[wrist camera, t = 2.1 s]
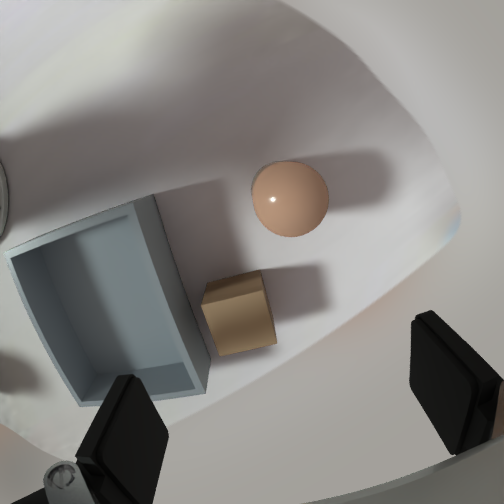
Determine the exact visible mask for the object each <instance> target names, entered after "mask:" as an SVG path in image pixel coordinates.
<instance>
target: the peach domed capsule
mask: <svg viewBox="0 0 504 504" xmlns="http://www.w3.org/2000/svg"><path fill="white" fill-rule="evenodd" d="M251 193H252V199H253V203H254V208H255V212H256V214H257V216H258V218H259V220H260V221H261V223H262V224H263V225H264V226H265V227H266V228H267V229H268V230H270V231H271V232H273V233H275V234H277V235H280V236H285V237H297V236H301V235H304V234H307V233H309V232H310V231H312V230H313V229H315V228H316V227H317V226H318V225H319V224H320V223H321V221H322V220H323V218H324V216H325V214H326V212H327V208H328V203H329V195H328V190H327V186H326V184H325V182H324V180H323V179H322V177H321V176H320V175H319V173H318V172H316V171H315V170H314V169H313V168H311V167H309V166H308V165H305V164H303V163H299V162H284V161H278V162H272V163H269V164H267V165H265V166H264V167H262V168H261V169H260V170H259V171H258V172H257V174H256V175H255V177H254V179H253V182H252V187H251Z"/></svg>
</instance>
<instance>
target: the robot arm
mask: <svg viewBox="0 0 504 504" xmlns="http://www.w3.org/2000/svg"><path fill="white" fill-rule="evenodd" d="M7 213H8V188H7V182H6V177H5V174H4V170H3V167H2V165H1V163H0V236H1V234H2V232H3V230H4V227H5V223H6V219H7ZM409 381H410V382H409V383H410V387H411V390H412V391H413V393H414V395H415V396H416V398H417V400H418V401H419V403H420V404H421V406H422V408H423V409H424V411H425V413H426V414H427V416H428V417H429V419H430V421H431V423H432V424H433V425H434V428H435V429H436V431H437V433H438V434H439V436H440V438H441V439H442V441H443V442H444V445H445V446H446V448H447V450H448V451H449V453H450V454H451V455H454V454H455V455H456V456H454V457H452V458H450V459H447V460H445V461H443V462H440V463H438V464H436V465H433V466H431V467H428V468H425V469H423V470H420V471H418V472H415V473H412V474H410V475H407V476H404V477H401V478H399V479H396V480H393V481H390V482H387V483H384V484H380V485H377V486H374V487H370V488H367V489H364V490H360V491H357V492H353V493H349V494H345V495H341V496H336V497H332V498H328V499H323V500H318V501H314V502H309V503H303V504H504V380H503V379H502V378H501V377H500V376H499V374H498V373H497V372H496V371H495V370H494V369H493V368H492V367H491V366H490V365H489V364H488V363H487V362H486V361H485V360H484V359H483V358H482V357H481V356H480V355H479V354H478V353H477V352H476V351H475V350H474V349H473V348H472V347H471V346H470V345H469V344H468V343H467V342H466V341H464V340H463V339H462V338H461V337H460V336H459V335H458V334H457V333H456V332H455V331H454V330H453V329H452V328H451V327H450V326H449V325H447V323H445V322H444V321H443V320H442V319H441V318H440V317H439V316H438V315H437V314H436V313H435V312H434V311H432V310H430V311H427V312H424V313H421V314H418V315H416V317H415V320H413V321H412V322H411V357H410V378H409ZM168 438H169V434H168V430H167V428H166V426H165V424H164V423H163V421H162V419H161V417H160V415H159V413H158V412H157V410H156V408H155V406H154V404H153V402H152V400H151V398H150V396H149V395H148V393H147V391H146V389H145V387H144V385H143V383H142V381H141V379H140V378H138V377H136V376H135V375H134V374H126V375H118V376H117V377H116V379H115V381H114V382H113V384H112V386H111V388H110V390H109V392H108V393H107V395H106V397H105V399H104V401H103V403H102V405H101V406H100V408H99V410H98V412H97V414H96V416H95V418H94V420H93V422H92V424H91V426H90V427H89V429H88V431H87V433H86V435H85V437H84V439H83V441H82V443H81V445H80V447H79V449H78V451H77V453H76V455H75V457H76V458H77V461H76V464H75V463H74V462H71V461H61V462H58V463H56V464H54V465H53V466H51V467H50V468H49V469H48V470H47V471H46V473H45V475H44V479H43V483H44V488H42V489H40V490H38V491H36V492H34V493H32V494H30V495H28V496H26V497H24V498H22V499H20V500H18V501H15V502H13V503H12V504H152V503H153V499H154V495H155V491H156V487H157V483H158V478H159V475H160V470H161V466H162V462H163V458H164V454H165V450H166V447H167V442H168Z"/></svg>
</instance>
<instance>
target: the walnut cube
mask: <svg viewBox="0 0 504 504" xmlns="http://www.w3.org/2000/svg"><path fill="white" fill-rule="evenodd" d="M201 307H202V310H203V313H204V315H205V318H206V321H207V324H208V326H209V329H210V332H211V335H212V337H213V340H214V343H215V345H216V348H217V351H218V353H219V356H224V355H229V354H233V353H238V352H243V351H247V350H252V349H256V348H260V347H264V346H269V345H273V344H277V339H276V333H275V327H274V321H273V316H272V312H271V308H270V305H269V301H268V297H267V294H266V290H265V286H264V283H263V279H262V275H261V272H260V270H256V271H252V272H248V273H244V274H240V275H236V276H233V277H229V278H225V279H221V280H217V281H213V282H209V283H207V286H206V289H205V293H204V296H203V300H202V303H201Z"/></svg>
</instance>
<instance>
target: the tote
mask: <svg viewBox="0 0 504 504" xmlns="http://www.w3.org/2000/svg"><path fill="white" fill-rule="evenodd" d="M4 256H5V259H6V262H7V264H8V267H9V270H10V272H11V275H12V278H13V280H14V283H15V285H16V288H17V290H18V292H19V295H20V297H21V300H22V302H23V304H24V306H25V309H26V311H27V313H28V315H29V317H30V319H31V322H32V324H33V326H34V328H35V330H36V332H37V334H38V336H39V338H40V340H41V342H42V344H43V346H44V348H45V349H46V351H47V353H48V355H49V357H50V359H51V360H52V362H53V364H54V366H55V368H56V369H57V371H58V373H59V374H60V376H61V378H62V380H63V381H64V383H65V384H66V386H67V388H68V389H69V391H70V393H71V394H72V396H73V397H74V399H75V400H76V402H77V403H78V405H79V406H80V407H88V406H101V405H102V403H103V401H104V399H105V397H106V395H107V393H108V392H109V390H110V388H111V386H112V384H113V382H114V381H115V379H116V377H117V376H118V375H126V374H134V375H135V376H136V377H138V378H140V379H141V381H142V383H143V385H144V387H145V389H146V391H147V393H148V395H149V396H150V398H151V400H152V401H157V400H165V399H173V398H180V397H187V396H194V395H200V394H206V388H207V382H208V375H209V368H210V362H211V358H210V356H209V353H208V351H207V348H206V346H205V343H204V341H203V338H202V335H201V333H200V330H199V328H198V325H197V322H196V320H195V317H194V314H193V312H192V309H191V306H190V303H189V301H188V298H187V295H186V292H185V290H184V287H183V284H182V281H181V278H180V275H179V272H178V270H177V267H176V264H175V261H174V258H173V255H172V252H171V249H170V246H169V243H168V240H167V237H166V234H165V230H164V227H163V224H162V221H161V218H160V215H159V211H158V208H157V205H156V202H155V198H154V195H153V194H152V195H149V196H146V197H143V198H140V199H137V200H134V201H131V202H128V203H125V204H122V205H119V206H117V207H114V208H111V209H108V210H105V211H103V212H100V213H97V214H94V215H92V216H89V217H86V218H84V219H81V220H78V221H76V222H73V223H70V224H68V225H65V226H63V227H60V228H58V229H55V230H53V231H50V232H48V233H45V234H43V235H41V236H38V237H36V238H33V239H31V240H29V241H27V242H25V243H23V244H21V245H18V246H16V247H14V248H12V249H10V250H8V251H6V252H4Z"/></svg>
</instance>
